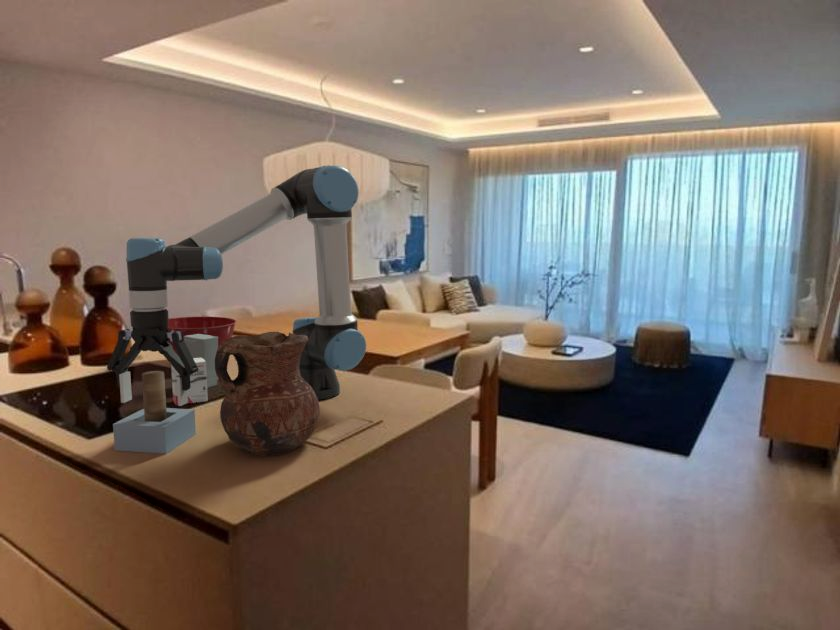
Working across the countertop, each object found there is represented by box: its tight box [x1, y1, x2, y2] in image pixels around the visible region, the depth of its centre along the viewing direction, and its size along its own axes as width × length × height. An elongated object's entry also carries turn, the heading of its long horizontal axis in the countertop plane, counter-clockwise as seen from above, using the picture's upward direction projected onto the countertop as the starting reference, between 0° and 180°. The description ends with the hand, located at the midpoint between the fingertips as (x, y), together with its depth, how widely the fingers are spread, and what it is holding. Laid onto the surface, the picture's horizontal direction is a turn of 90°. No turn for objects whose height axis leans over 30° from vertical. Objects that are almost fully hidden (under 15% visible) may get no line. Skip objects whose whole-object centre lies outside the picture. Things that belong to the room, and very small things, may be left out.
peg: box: [141, 370, 167, 422], centre depth 123 cm, size 4×4×16 cm
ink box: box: [170, 358, 209, 406], centre depth 153 cm, size 8×5×12 cm, turn 123°
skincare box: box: [184, 334, 218, 389], centre depth 169 cm, size 8×7×16 cm
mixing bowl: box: [164, 316, 237, 356], centre depth 198 cm, size 28×28×15 cm
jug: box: [215, 331, 321, 457], centre depth 121 cm, size 22×21×25 cm
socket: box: [112, 407, 197, 455], centre depth 124 cm, size 12×12×6 cm
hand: (154, 402), depth 123 cm, fingers open, 13 cm apart
